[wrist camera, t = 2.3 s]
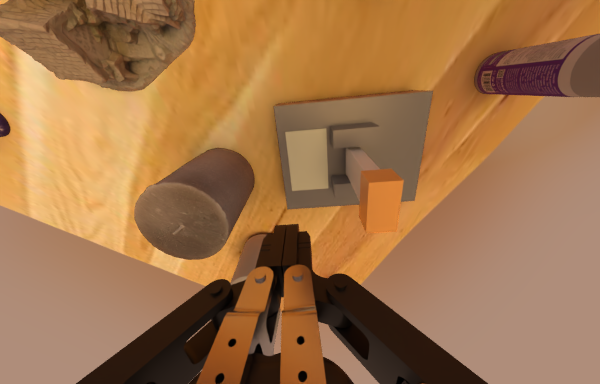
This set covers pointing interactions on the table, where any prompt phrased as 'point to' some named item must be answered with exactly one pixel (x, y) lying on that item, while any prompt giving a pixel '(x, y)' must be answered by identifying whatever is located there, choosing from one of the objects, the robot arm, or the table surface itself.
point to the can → (248, 258)
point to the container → (544, 70)
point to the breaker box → (349, 143)
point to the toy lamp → (4, 126)
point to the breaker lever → (374, 192)
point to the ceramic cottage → (101, 37)
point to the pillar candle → (196, 205)
